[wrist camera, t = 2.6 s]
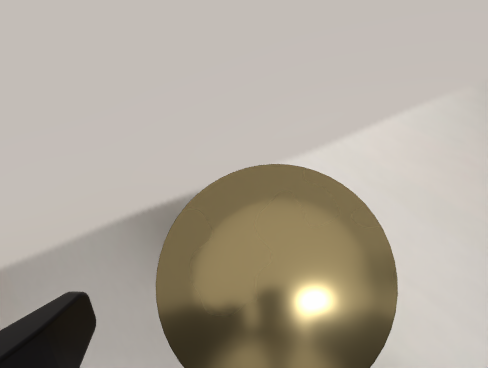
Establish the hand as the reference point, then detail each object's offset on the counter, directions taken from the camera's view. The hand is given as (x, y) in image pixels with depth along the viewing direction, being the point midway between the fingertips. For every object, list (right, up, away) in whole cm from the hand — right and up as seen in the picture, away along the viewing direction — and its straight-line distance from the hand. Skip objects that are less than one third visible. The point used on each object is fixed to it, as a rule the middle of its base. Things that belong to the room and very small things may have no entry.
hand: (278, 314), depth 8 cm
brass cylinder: (+2, -2, +8) cm, 8 cm away
